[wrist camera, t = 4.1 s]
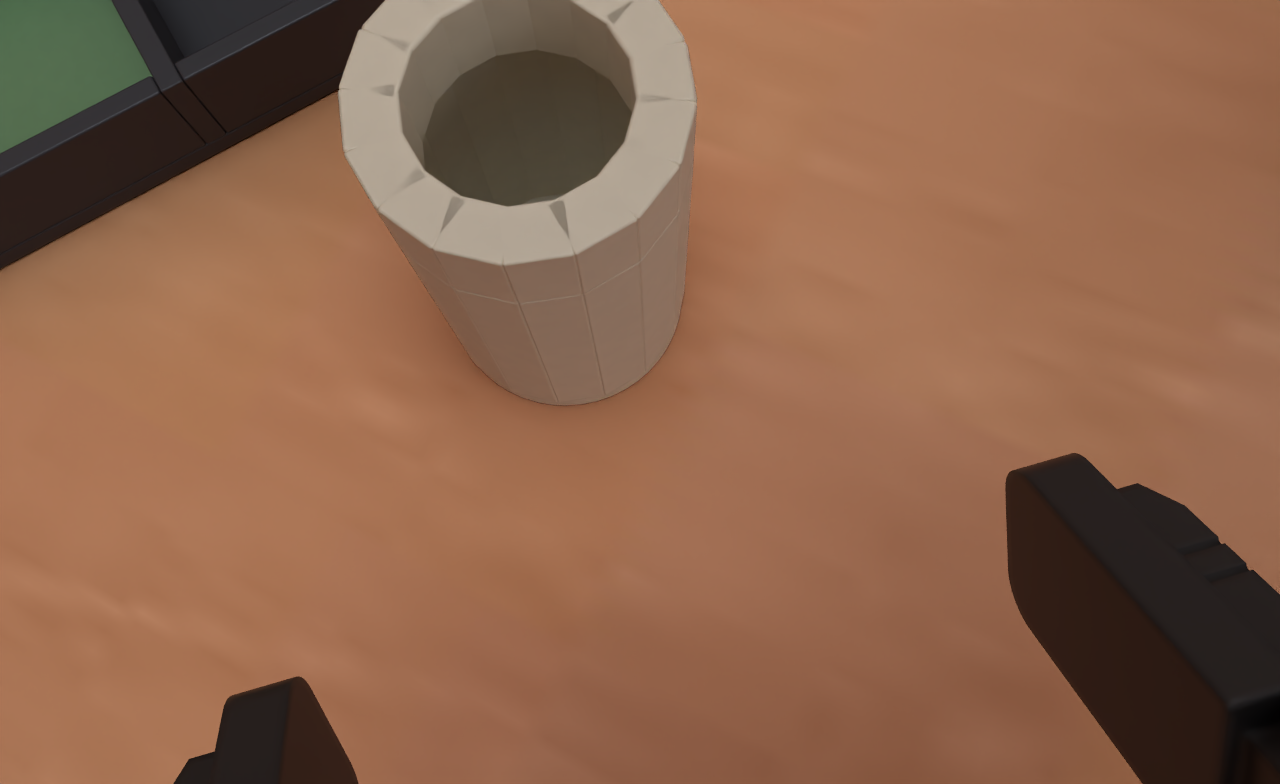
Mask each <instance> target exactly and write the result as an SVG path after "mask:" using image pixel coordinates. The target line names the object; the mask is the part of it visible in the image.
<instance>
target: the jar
mask: <svg viewBox="0 0 1280 784" xmlns="http://www.w3.org/2000/svg"><path fill="white" fill-rule="evenodd" d="M338 101H339V112H340V123H341V134H342V146H343V151H344V153H345V158H346V160H347V161H348V163H349V165H350V167H351V168H352V170H353V172H354V173H355V175H356V177H357V179H358V180H359V182H360V184H361V185H362V187H363V189H364V191H365V192H366V194H367V196H368V198H369V199H370V201H371V203H372V204H373V206H374V208H375V209H376V211H377V213H378V214H379V216H380V217H381V219H382V220H383V222H384V223H385V225H386V227H387V228H388V230H389V231H390V233H391V234H392V236H393V238H394V239H395V241H396V242H397V244H398V245H399V247H400V248H401V250H402V252H403V253H404V255H405V256H406V258H407V259H408V261H409V263H410V264H411V266H412V267H413V269H414V270H415V272H416V273H417V275H418V277H419V278H420V280H421V281H422V283H423V284H424V286H425V287H426V289H427V291H428V292H429V294H430V295H431V297H432V298H433V300H434V302H435V303H436V305H437V306H438V308H439V309H440V311H441V312H442V314H443V316H444V317H445V319H446V320H447V322H448V323H449V325H450V327H451V328H452V330H453V331H454V333H455V334H456V336H457V337H458V339H459V341H460V342H461V344H462V345H463V347H464V348H465V350H466V352H467V353H468V355H469V356H470V358H471V359H472V361H473V362H474V363H475V364H476V366H478V367H479V368H480V369H481V370H482V371H483V372H484V373H485V374H486V375H487V376H488V377H489V378H491V379H492V380H493V381H494V382H495V383H497V384H498V385H500V386H501V387H503V388H504V389H506V390H508V391H509V392H511V393H514V394H516V395H518V396H520V397H522V398H525V399H528V400H532V401H535V402H539V403H545V404H550V405H579V404H586V403H591V402H595V401H599V400H602V399H605V398H608V397H610V396H613V395H615V394H617V393H619V392H621V391H623V390H625V389H627V388H628V387H630V386H631V385H633V384H634V383H636V382H637V381H639V380H640V379H641V378H642V377H643V376H644V375H645V374H646V373H648V372H649V371H650V370H651V369H652V367H653V366H654V365H655V364H656V363H657V362H658V361H659V359H660V358H661V357H662V355H663V354H664V352H665V350H666V349H667V347H668V346H669V344H670V341H671V339H672V337H673V335H674V333H675V330H676V327H677V324H678V321H679V316H680V310H681V304H682V300H683V296H684V289H685V275H686V260H687V246H688V232H689V218H690V203H691V189H692V175H693V161H694V144H695V130H696V116H697V95H696V90H695V84H694V79H693V73H692V67H691V62H690V56H689V50H688V46H687V44H686V43H685V40H684V36H683V35H682V33H681V32H680V31H679V29H678V28H677V26H676V25H675V23H674V22H673V20H672V19H671V17H670V16H669V15H668V13H667V12H666V10H665V9H664V7H663V6H662V4H661V3H660V1H659V0H385V1H384V2H383V3H382V4H381V5H380V6H379V7H378V9H377V10H376V11H375V12H374V13H373V14H372V15H371V16H370V18H369V19H368V20H367V21H366V22H365V23H364V24H363V26H362V29H361V30H359V31H358V33H357V36H356V38H355V41H354V44H353V47H352V50H351V53H350V56H349V58H348V61H347V64H346V67H345V70H344V73H343V76H342V79H341V81H340V84H339V91H338Z"/></svg>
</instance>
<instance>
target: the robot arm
mask: <svg viewBox="0 0 1280 784" xmlns="http://www.w3.org/2000/svg"><path fill="white" fill-rule="evenodd" d="M1005 490H1006V519H1007V549H1008V573H1009V580H1010V585H1011V589H1012V593H1013V596H1014V599H1015V601H1016V604H1017V606H1018V609H1019V611H1020V613H1021V615H1022V617H1023V619H1024V621H1025V622H1026V624H1027V626H1028V627H1029V629H1030V630H1031V631H1032V633H1033V634H1034V636H1035V637H1036V638H1037V640H1038V641H1039V642H1040V644H1041V645H1042V646H1043V648H1044V649H1045V651H1046V652H1047V653H1048V655H1049V656H1050V657H1051V659H1052V660H1053V662H1054V663H1055V664H1056V666H1057V667H1058V668H1059V670H1060V671H1061V672H1062V674H1063V675H1064V677H1065V678H1066V679H1067V681H1068V682H1069V683H1070V685H1071V686H1072V688H1073V689H1074V690H1075V692H1076V693H1077V694H1078V696H1079V697H1080V699H1081V700H1082V701H1083V703H1084V704H1085V705H1086V707H1087V708H1088V709H1089V711H1090V712H1091V714H1092V715H1093V716H1094V718H1095V719H1096V720H1097V722H1098V723H1099V725H1100V726H1101V727H1102V729H1103V730H1104V731H1105V733H1106V734H1107V735H1108V737H1109V738H1110V740H1111V741H1112V742H1113V744H1114V745H1115V746H1116V748H1117V749H1118V751H1119V752H1120V753H1121V755H1122V756H1123V757H1124V759H1125V760H1126V762H1127V763H1128V764H1129V766H1130V767H1131V768H1132V770H1133V771H1134V772H1135V774H1136V775H1137V777H1138V778H1139V779H1140V781H1141V782H1142V783H1143V784H1280V594H1278V593H1277V592H1276V591H1275V590H1274V589H1273V588H1272V587H1271V586H1270V585H1269V584H1268V583H1267V582H1266V581H1265V580H1263V579H1262V578H1261V577H1260V576H1259V575H1258V574H1257V573H1256V572H1255V571H1254V570H1251V571H1249V570H1248V568H1247V566H1246V563H1245V562H1244V561H1243V560H1242V559H1241V558H1240V557H1239V556H1238V555H1237V554H1236V553H1235V552H1234V551H1233V550H1231V549H1230V548H1229V547H1228V546H1227V545H1226V544H1225V543H1224V544H1221V543H1220V542H1219V540H1218V536H1217V535H1215V534H1214V533H1213V532H1212V531H1211V530H1210V529H1209V528H1208V527H1207V526H1206V525H1205V524H1204V523H1203V522H1202V521H1201V520H1199V519H1198V518H1197V517H1196V516H1195V515H1194V514H1193V513H1192V512H1191V511H1190V510H1189V509H1188V508H1187V507H1186V506H1185V505H1182V504H1180V503H1178V502H1176V501H1174V500H1172V499H1170V498H1168V497H1166V496H1163V495H1161V494H1159V493H1157V492H1155V491H1153V490H1151V489H1149V488H1147V487H1144V486H1142V485H1140V484H1138V483H1136V484H1133V485H1130V486H1126V487H1123V488H1119V489H1116V488H1115V487H1114V486H1113V485H1112V484H1111V483H1110V482H1109V481H1108V480H1107V479H1106V478H1105V477H1104V476H1103V475H1102V474H1101V473H1100V472H1099V471H1098V470H1097V469H1096V468H1095V467H1094V466H1093V465H1092V464H1091V463H1090V462H1089V461H1088V460H1087V459H1086V458H1085V457H1083V456H1081V455H1080V454H1077V453H1071V454H1068V455H1065V456H1061V457H1058V458H1054V459H1051V460H1047V461H1044V462H1041V463H1037V464H1034V465H1030V466H1027V467H1023V468H1020V469H1016V470H1013V471H1011V472H1009V474H1008V476H1007V478H1006V488H1005ZM174 784H358V780H357V777H356V774H355V772H354V769H353V767H352V765H351V762H350V761H349V759H348V757H347V755H346V753H345V751H344V749H343V747H342V746H341V744H340V742H339V740H338V738H337V736H336V734H335V732H334V731H333V729H332V727H331V725H330V723H329V721H328V719H327V718H326V716H325V714H324V712H323V710H322V708H321V706H320V704H319V703H318V701H317V699H316V697H315V695H314V693H313V691H312V690H311V688H310V686H309V684H308V683H307V682H306V681H305V680H304V679H303V678H302V677H294V678H290V679H287V680H283V681H280V682H277V683H273V684H270V685H266V686H263V687H259V688H256V689H253V690H249V691H246V692H242V693H239V694H235V695H232V696H230V697H229V698H228V699H227V701H226V703H225V705H224V709H223V713H222V718H221V723H220V728H219V733H218V738H217V743H216V748H215V752H212V753H208V754H205V755H201V756H198V757H195V758H191V759H189V760H188V762H187V763H186V765H185V766H184V768H183V769H182V771H181V773H180V774H179V776H178V777H177V779H176V781H175V782H174Z"/></svg>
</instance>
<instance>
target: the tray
mask: <svg viewBox="0 0 1280 784" xmlns="http://www.w3.org/2000/svg"><path fill="white" fill-rule="evenodd" d="M384 1H385V0H0V269H1V268H2V267H4V266H6V265H8V264H10V263H12V262H14V261H16V260H18V259H19V258H21V257H23V256H25V255H27V254H29V253H31V252H33V251H34V250H36V249H38V248H40V247H42V246H44V245H46V244H48V243H49V242H51V241H53V240H55V239H57V238H59V237H61V236H63V235H65V234H66V233H68V232H70V231H72V230H74V229H76V228H78V227H80V226H81V225H83V224H85V223H87V222H89V221H91V220H93V219H95V218H96V217H98V216H100V215H102V214H104V213H106V212H108V211H110V210H112V209H113V208H115V207H117V206H119V205H121V204H123V203H125V202H127V201H128V200H130V199H132V198H134V197H136V196H138V195H140V194H142V193H143V192H145V191H147V190H149V189H151V188H153V187H155V186H157V185H158V184H160V183H162V182H164V181H166V180H168V179H170V178H172V177H174V176H175V175H177V174H179V173H181V172H183V171H185V170H187V169H189V168H190V167H192V166H194V165H196V164H198V163H200V162H202V161H204V160H205V159H207V158H209V157H211V156H213V155H215V154H217V153H219V152H221V151H222V150H224V149H226V148H228V147H230V146H232V145H234V144H236V143H237V142H239V141H241V140H243V139H245V138H247V137H249V136H251V135H252V134H254V133H256V132H258V131H260V130H262V129H264V128H266V127H268V126H269V125H271V124H273V123H275V122H277V121H279V120H281V119H283V118H284V117H286V116H288V115H290V114H292V113H294V112H296V111H298V110H299V109H301V108H303V107H305V106H307V105H309V104H311V103H313V102H314V101H316V100H318V99H320V98H322V97H324V96H326V95H328V94H330V93H331V92H333V91H335V90H337V89H339V84H340V81H341V79H342V76H343V73H344V70H345V67H346V64H347V61H348V58H349V56H350V53H351V50H352V47H353V44H354V41H355V38H356V36H357V33H358V31H359V30H361V29H362V26H363V24H364V23H365V22H366V21H367V20H368V19H369V18H370V16H371V15H372V14H373V13H374V12H375V11H376V10H377V9H378V7H379V6H380V5H381V4H382V3H383V2H384Z"/></svg>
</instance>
